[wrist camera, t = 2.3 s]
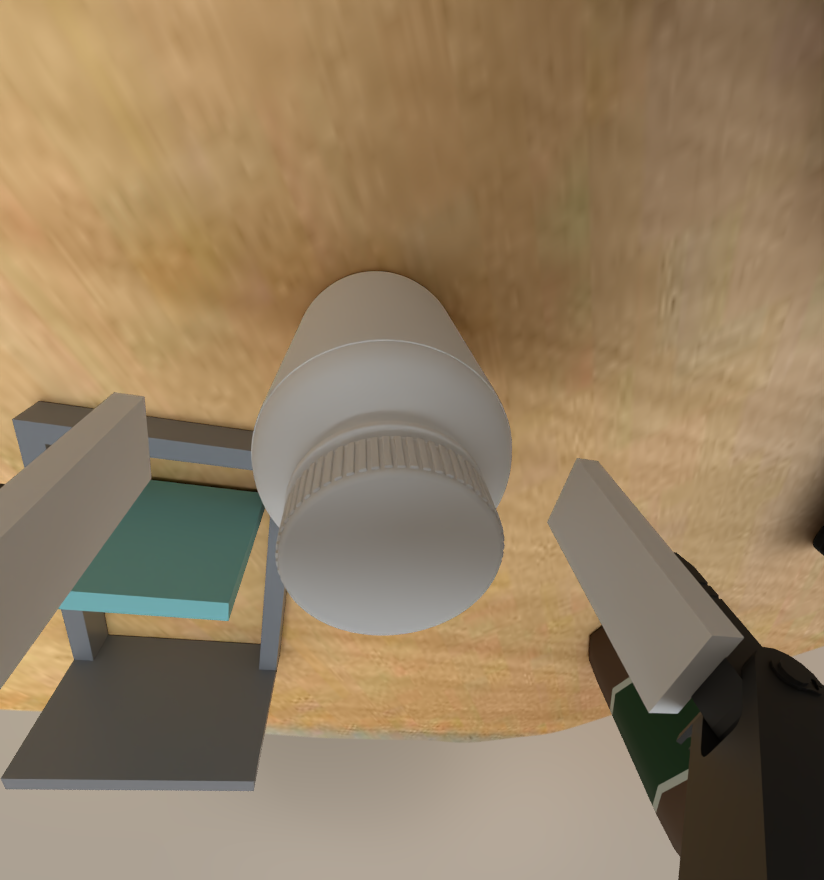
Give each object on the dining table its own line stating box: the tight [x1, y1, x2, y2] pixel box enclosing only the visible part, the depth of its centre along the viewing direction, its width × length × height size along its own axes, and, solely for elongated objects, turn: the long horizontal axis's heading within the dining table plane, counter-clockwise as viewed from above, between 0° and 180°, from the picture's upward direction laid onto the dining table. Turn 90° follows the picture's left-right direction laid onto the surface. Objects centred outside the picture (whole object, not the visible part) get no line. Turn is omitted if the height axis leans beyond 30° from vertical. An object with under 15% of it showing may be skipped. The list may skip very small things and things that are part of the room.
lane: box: [1, 401, 287, 791], centre depth 25 cm, size 13×20×9 cm
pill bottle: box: [251, 271, 512, 635], centre depth 17 cm, size 8×8×15 cm
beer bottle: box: [589, 626, 700, 857], centre depth 27 cm, size 8×8×24 cm
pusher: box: [58, 480, 265, 621], centre depth 23 cm, size 10×1×8 cm, turn 78°
